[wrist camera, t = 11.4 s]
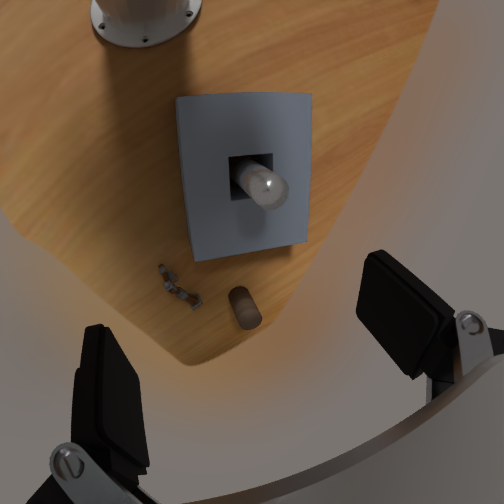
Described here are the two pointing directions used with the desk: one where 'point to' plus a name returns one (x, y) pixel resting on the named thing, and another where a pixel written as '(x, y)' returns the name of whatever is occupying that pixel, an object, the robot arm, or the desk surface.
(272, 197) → the long pin
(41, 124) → the desk surface
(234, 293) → the short pin
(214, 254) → the hole block
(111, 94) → the desk surface
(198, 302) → the wooden post with brackets
